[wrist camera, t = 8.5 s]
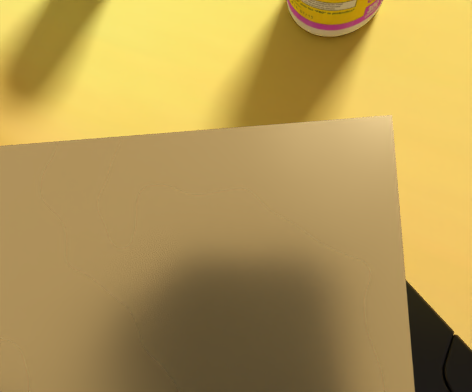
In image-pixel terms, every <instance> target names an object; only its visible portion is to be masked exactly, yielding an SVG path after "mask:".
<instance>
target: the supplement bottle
mask: <svg viewBox="0 0 472 392" xmlns="http://www.w3.org/2000/svg"><path fill="white" fill-rule="evenodd" d="M382 1H383V0H287V5H288V9H289V12H290V14H291V16H292V17H293V19H294V20H295V22H296V23H297V24H298V25H299V26H300V27H301V28H303V29H304V30H306V31H308V32H310V33H312V34H315V35H318V36H327V37H331V36H340V35H345V34H348V33H351V32H353V31H355V30H357V29H359V28H360V27H362V26H363V25H365V24H366V23H367V22H368V21H369V20H370V19H371V18H372V17H373V16H374V15H375V14H376V12H377V11H378V9H379V7H380V6H381V4H382Z"/></svg>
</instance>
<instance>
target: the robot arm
mask: <svg viewBox="0 0 472 392" xmlns="http://www.w3.org/2000/svg"><path fill="white" fill-rule="evenodd" d="M406 291H407V303H408V315H409V327H410V339H411V351H412V363H413V375H414V387H415V392H472V350H471V349H470V348H469V347H468V346H467V345H466V344H465V343H464V341H463V340H462V339H461V338H460V337H459V336H458V335H454V331H453V330H452V329H451V328H450V327H449V326H448V325H447V323H446V322H445V321H444V320H443V319H442V318H441V317H440V316H439V315H438V314H437V313H436V312H435V311H434V310H433V308H432V307H431V306H430V305H429V304H428V303H427V302H426V301H425V300H424V299H423V298H422V297H421V296H420V295H419V293H418V292H417V291H416V290H415V289H414V288H413V287H412V286H411V285H410V284H409V283H408V282H407V281H406Z"/></svg>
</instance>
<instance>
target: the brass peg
mask: <svg viewBox="0 0 472 392" xmlns="http://www.w3.org/2000/svg"><path fill="white" fill-rule="evenodd" d="M0 392H415V387H414V375H413V363H412V351H411V339H410V327H409V315H408V303H407V291H406V279H405V267H404V255H403V243H402V231H401V219H400V206H399V194H398V182H397V170H396V158H395V146H394V134H393V122H392V115H387V116H375V117H362V118H349V119H337V120H324V121H311V122H299V123H286V124H273V125H260V126H248V127H235V128H222V129H210V130H197V131H184V132H172V133H159V134H146V135H134V136H121V137H108V138H96V139H83V140H70V141H57V142H45V143H32V144H19V145H7V146H0Z"/></svg>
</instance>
